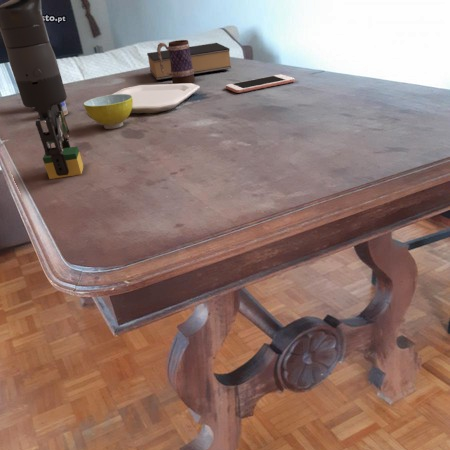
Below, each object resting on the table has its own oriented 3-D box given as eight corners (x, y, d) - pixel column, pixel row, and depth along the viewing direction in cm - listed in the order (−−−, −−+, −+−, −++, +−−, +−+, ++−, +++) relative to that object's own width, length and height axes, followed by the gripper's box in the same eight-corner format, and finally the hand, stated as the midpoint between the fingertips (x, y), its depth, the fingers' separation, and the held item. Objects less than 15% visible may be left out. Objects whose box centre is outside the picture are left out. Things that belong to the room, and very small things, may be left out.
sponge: (49, 179, 89) (42, 158, 86) (52, 171, 92) (46, 150, 90) (81, 174, 89) (75, 153, 87) (83, 166, 93) (77, 146, 90)
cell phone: (295, 81, 133) (295, 78, 133) (237, 93, 129) (237, 89, 128) (280, 77, 140) (280, 73, 140) (225, 88, 136) (224, 84, 135)
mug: (192, 79, 151) (187, 37, 144) (197, 83, 146) (191, 39, 139) (161, 84, 150) (154, 42, 143) (164, 88, 144) (157, 44, 137)
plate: (129, 93, 144) (127, 85, 143) (205, 90, 136) (204, 82, 135) (86, 116, 125) (84, 108, 124) (172, 115, 118) (170, 106, 116)
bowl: (109, 118, 121) (103, 93, 118) (146, 120, 116) (141, 93, 113) (80, 132, 113) (73, 105, 110) (119, 134, 108) (112, 106, 105)
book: (150, 73, 167) (146, 53, 163) (218, 63, 171) (216, 42, 167) (157, 82, 153) (153, 60, 149) (231, 70, 157) (229, 48, 153)
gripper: (23, 70, 86) (51, 158, 96) (5, 85, 75) (40, 184, 84) (64, 64, 87) (88, 153, 96) (53, 78, 75) (82, 177, 85)
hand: (65, 167), depth 90 cm, fingers open, 7 cm apart
